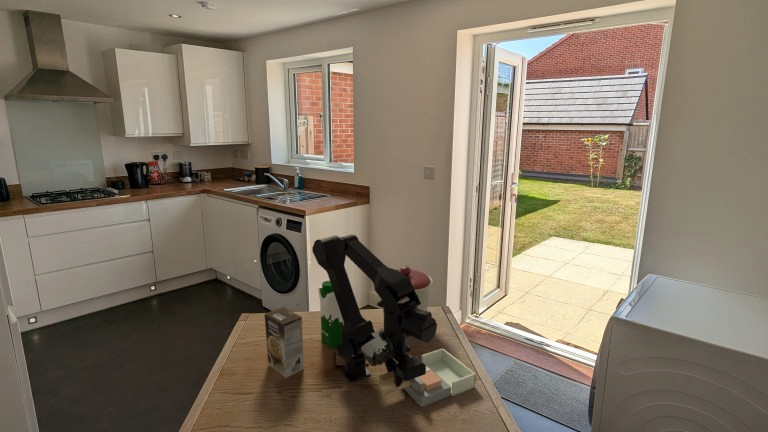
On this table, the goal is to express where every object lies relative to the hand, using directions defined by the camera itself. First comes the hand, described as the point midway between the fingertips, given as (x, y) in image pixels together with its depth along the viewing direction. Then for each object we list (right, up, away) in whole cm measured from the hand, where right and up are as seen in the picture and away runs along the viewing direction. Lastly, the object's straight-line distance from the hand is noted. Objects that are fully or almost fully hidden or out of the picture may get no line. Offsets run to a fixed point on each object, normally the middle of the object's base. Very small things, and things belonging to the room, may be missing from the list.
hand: (395, 383), depth 103 cm
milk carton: (-18, +2, +27) cm, 32 cm away
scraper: (0, -1, 0) cm, 1 cm away
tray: (+14, -2, +9) cm, 17 cm away
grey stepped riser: (+7, -3, +5) cm, 9 cm away
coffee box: (-30, -1, +13) cm, 33 cm away
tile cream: (+6, 0, +6) cm, 9 cm away
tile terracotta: (+9, -1, +2) cm, 9 cm away
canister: (+4, +5, +37) cm, 37 cm away
